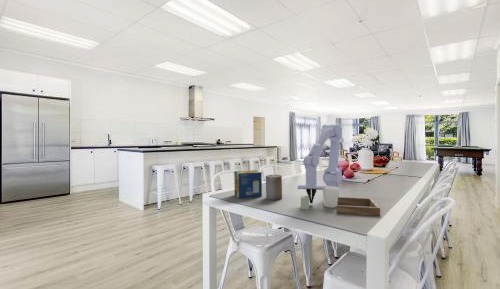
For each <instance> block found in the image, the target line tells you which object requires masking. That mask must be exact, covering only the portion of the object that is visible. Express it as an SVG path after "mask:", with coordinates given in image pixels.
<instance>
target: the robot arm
mask: <svg viewBox="0 0 500 289" xmlns="http://www.w3.org/2000/svg"><path fill="white" fill-rule="evenodd" d="M320 132H321V134H320V136H319V138H318V140H317V142H316V143H315V144H313V145H312V147H311V149H310V151H309V153H308V155H305V157H304V158H303V161H302V163H303V165H304V170H305V184H302V185H301V184H300V185H299V184H298V185H297V190H305V192H306V194H307V196H309V204H313V203H314V198H315V195H316V194H317V191H323V187H324V188H325V186H336V187H338V197H340V185H341V184H342V182H343V175H342V174H343V172H342V171H341V170H340V168H338V167H339V159H340V158H339V157H340V145H341V139H342V134H343V133H342V132H343V128H342V126H341V124H340V123H333V124H332V123H331V124H323V125H322V126H321V129H320ZM327 140H330V145H329V146H330V147H329V156H328V167H327V168H325V169H324V171H323V175H322V181H323V182H324V184H325V185H318V184H317V182H318V179H317V178H318V177H317V176H318V174H317V173H318V171H317V167H318V166H319V165H320V157H321V155H322V153H323V151H324V145H325V143H326V142H327Z"/></svg>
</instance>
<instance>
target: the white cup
mask: <svg viewBox="0 0 500 289" xmlns="http://www.w3.org/2000/svg"><path fill="white" fill-rule="evenodd" d="M324 186H325V188H324V187H323V190H322V197H323V206H324V207H326V208H332V209H333V208H336V205H338V204H337V202H338V187H336V186H326V185H324Z"/></svg>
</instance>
